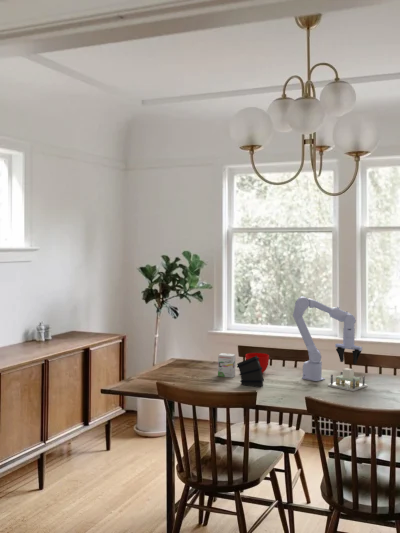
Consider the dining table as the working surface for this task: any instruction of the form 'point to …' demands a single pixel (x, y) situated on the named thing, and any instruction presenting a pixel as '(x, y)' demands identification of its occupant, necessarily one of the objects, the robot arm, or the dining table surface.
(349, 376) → the sage board
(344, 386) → the plate
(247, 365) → the magazine
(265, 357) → the ceramic cup
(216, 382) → the dining table surface
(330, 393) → the dining table surface
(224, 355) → the ink box
